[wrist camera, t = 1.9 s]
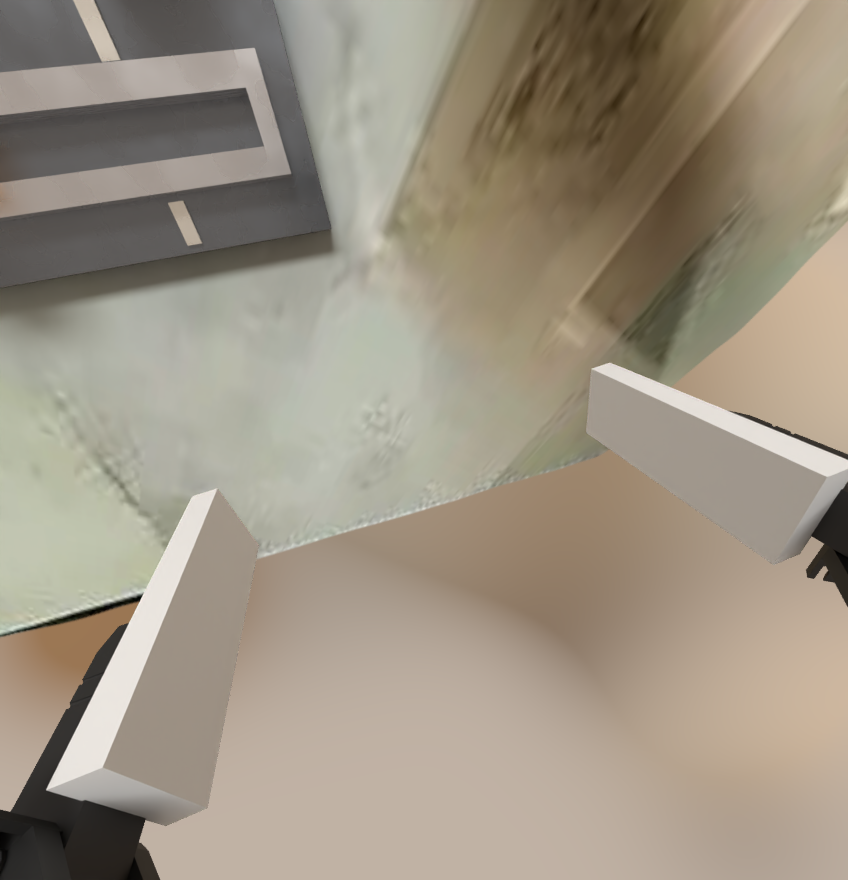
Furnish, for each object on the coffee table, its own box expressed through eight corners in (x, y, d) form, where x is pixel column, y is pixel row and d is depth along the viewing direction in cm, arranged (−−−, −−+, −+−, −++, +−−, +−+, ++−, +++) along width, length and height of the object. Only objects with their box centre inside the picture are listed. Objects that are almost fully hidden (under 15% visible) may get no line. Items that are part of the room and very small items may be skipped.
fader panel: (-127, 310, 23) (-177, 318, 21) (-407, 32, 16) (-529, -4, 14) (330, 229, 28) (331, 228, 25) (267, -16, 21) (261, -49, 18)
